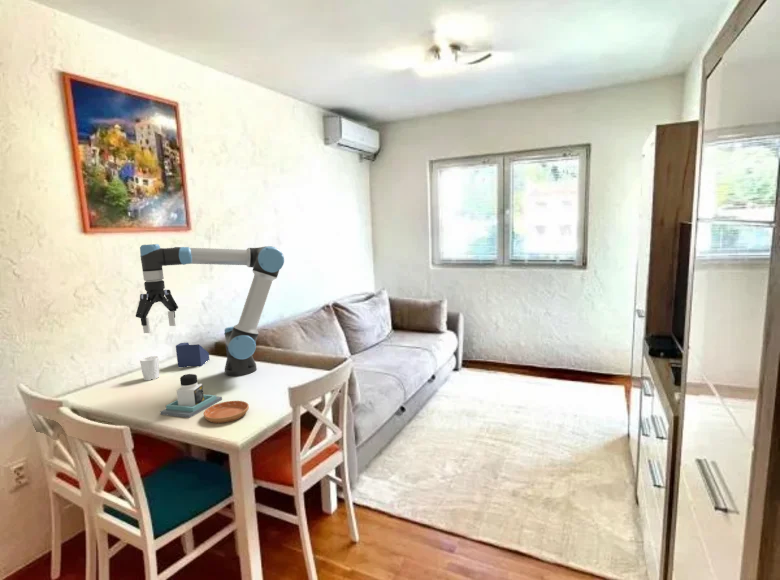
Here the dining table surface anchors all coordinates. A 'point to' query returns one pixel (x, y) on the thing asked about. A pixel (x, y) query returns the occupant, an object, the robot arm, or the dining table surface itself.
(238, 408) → the saucer
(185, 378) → the medicine bottle
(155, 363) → the white cup
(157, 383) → the dining table surface
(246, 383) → the dining table surface
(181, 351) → the blue wedge block
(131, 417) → the dining table surface
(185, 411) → the dock
